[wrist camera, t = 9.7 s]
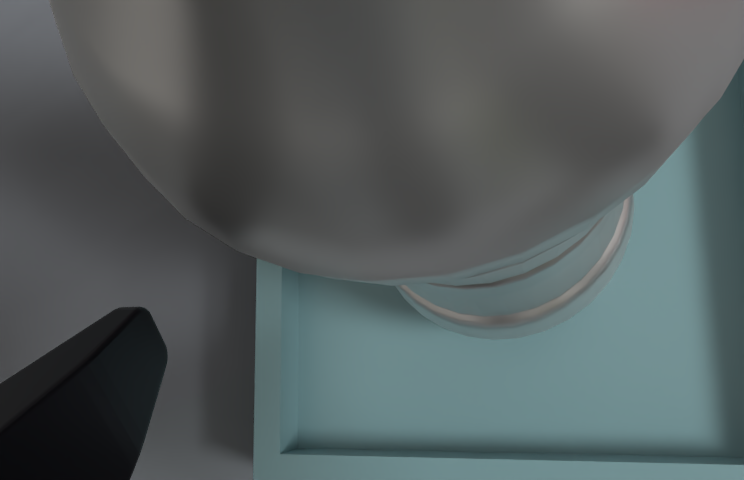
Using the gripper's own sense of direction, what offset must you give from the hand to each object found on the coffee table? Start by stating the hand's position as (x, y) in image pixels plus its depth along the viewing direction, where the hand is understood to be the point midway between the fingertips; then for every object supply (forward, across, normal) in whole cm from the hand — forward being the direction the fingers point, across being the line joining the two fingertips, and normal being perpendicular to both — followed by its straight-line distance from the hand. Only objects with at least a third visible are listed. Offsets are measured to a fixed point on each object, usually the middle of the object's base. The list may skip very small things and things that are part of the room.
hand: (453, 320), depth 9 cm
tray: (+11, 0, +6) cm, 12 cm away
